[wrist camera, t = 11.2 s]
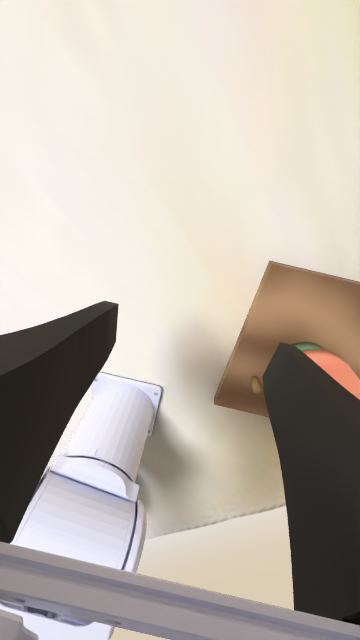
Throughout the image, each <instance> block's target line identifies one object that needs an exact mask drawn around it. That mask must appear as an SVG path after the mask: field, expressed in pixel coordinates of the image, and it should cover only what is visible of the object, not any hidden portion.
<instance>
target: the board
mask: <svg viewBox="0 0 360 640" xmlns="http://www.w3.org/2000/svg"><path fill="white" fill-rule="evenodd" d="M280 342H282V343H286V344H291V345H292V344H295V343H298V342H312V343H316V344H318V345H320V346H322V347H323V348H324V349H325V350H328V351H332V352H334V353H336V354H338V355H339V356H341V357H342V358H343V359H344V360H345V361H346V363H347V364H348V365H349V366H350V368H351V369H352V370H353V372H354V373H355V374H356V375H357V377H358V378H359V379H360V282H358V281H354V280H349V279H345V278H341V277H337V276H332V275H328V274H324V273H320V272H315V271H311V270H307V269H303V268H298V267H294V266H290V265H286V264H281V263H277V262H273V261H269V263H268V266H267V268H266V271H265V273H264V276H263V278H262V281H261V283H260V285H259V288H258V290H257V293H256V295H255V298H254V300H253V303H252V305H251V308H250V310H249V313H248V315H247V318H246V320H245V323H244V325H243V328H242V330H241V332H240V335H239V337H238V340H237V342H236V345H235V347H234V350H233V352H232V355H231V357H230V360H229V362H228V365H227V367H226V370H225V372H224V375H223V377H222V379H221V382H220V384H219V387H218V389H217V392H216V394H215V397H214V404H215V405H219V406H223V407H227V408H232V409H236V410H240V411H245V412H249V413H253V414H257V415H262V416H266V417H269V414H268V410H267V406H266V402H265V397H264V390H263V379H262V376H263V374H264V372H265V370H266V368H267V366H268V364H269V362H270V361H271V359H272V357H273V355H274V353H275V351H276V349H277V347H278V345H279V343H280Z"/></svg>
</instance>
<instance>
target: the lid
mask: <svg viewBox="0 0 360 640" xmlns="http://www.w3.org/2000/svg"><path fill="white" fill-rule="evenodd" d="M302 352H304V353H305V354H306V355H307V356H308V357H310V358H311V359H312V360H313V361H314V362H315V363H316V364H318V365H319V366H320V367H321V368H322V369H323V370H324V371H326V372H327V373H328V374H329V375H330V376H331V377H332V378H334V379H335V380H336V381H337V382H338V383H340V384H341V385H342V386H343V387H344V388H345V389H347V390H348V391H349V392H350V393H352V394H353V395H354V396H355V397H357V398H358V399H359V400H360V379H359V378H358V377H357V375H356V374H355V373H354V372H353V370H352V369H351V368H350V366H349V365H348V364H347V363H346V361H345V360H344V359H343V358H342V357H341V356H339V355H338V354H336V353H334V352H332V351H328V350H323V349H308V350H303V351H302Z"/></svg>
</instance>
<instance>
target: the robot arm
mask: <svg viewBox="0 0 360 640" xmlns="http://www.w3.org/2000/svg"><path fill="white" fill-rule="evenodd" d="M117 316H118V304H116V303H112V302H107V301H103V302H100V303H97V304H94V305H92V306H89V307H87V308H84V309H82V310H79V311H77V312H74V313H72V314H69V315H67V316H64V317H61V318H58V319H55V320H53V321H50V322H47V323H44V324H41V325H38V326H34V327H31V328H27V329H24V330H20V331H16V332H12V333H8V334H4V335H0V640H109V639H110V638H111V636H112V634H113V631H114V628H115V627H119V628H123V629H127V630H132V631H136V632H140V633H145V634H149V635H153V636H157V637H162V638H166V639H171V640H360V400H359V399H358V398H357V397H355V396H354V395H353V394H352V393H350V392H349V391H348V390H347V389H345V388H344V387H343V386H342V385H341V384H340V383H338V382H337V381H336V380H335V379H334V378H332V377H331V376H330V375H329V374H328V373H327V372H326V371H324V370H323V369H322V368H321V367H320V366H319V365H318V364H316V363H315V362H314V361H313V360H312V359H311V358H310V357H308V356H307V355H306V354H305V353H304V352H302V351H301V350H300V349H299V348H297V347H296V346H294V345H291V344H286V343H282V342H280V343H279V345H278V347H277V349H276V351H275V353H274V355H273V357H272V359H271V361H270V362H269V364H268V366H267V368H266V370H265V372H264V374H263V376H262V379H263V390H264V397H265V402H266V406H267V410H268V414H269V418H270V421H271V425H272V429H273V433H274V437H275V441H276V444H277V449H278V453H279V458H280V464H281V470H282V477H283V484H284V491H285V499H286V507H287V515H288V526H289V537H290V548H291V562H292V578H293V594H294V610H291V609H286V608H282V607H278V606H274V605H269V604H264V603H261V602H256V601H252V600H247V599H244V598H239V597H235V596H231V595H227V594H222V593H218V592H214V591H209V590H205V589H200V588H197V587H192V586H188V585H183V584H179V583H175V582H171V581H166V580H162V579H158V578H154V577H149V576H145V575H141V574H137V573H136V571H137V568H138V565H139V562H140V558H141V554H142V550H143V545H144V540H145V534H146V523H147V520H146V513H145V509H144V504H143V502H142V501H141V500H138V499H137V496H138V492H139V488H140V486H139V485H138V484H135V481H136V477H137V473H138V469H139V465H140V461H141V458H142V454H143V450H144V446H145V442H146V438H150V437H151V435H152V430H153V426H154V422H155V417H156V413H157V409H158V404H159V400H160V395H161V391H162V388H161V387H160V386H156V385H152V384H148V383H144V382H139V381H135V380H131V379H127V378H122V377H118V376H114V375H110V374H105V373H101V372H100V370H101V369H102V367H103V366H104V364H105V362H106V361H107V359H108V357H109V355H110V353H111V351H112V349H113V346H114V344H115V342H116V330H117ZM91 384H92V401H91V403H90V405H89V406H88V408H87V410H86V412H85V414H84V415H83V417H82V419H81V421H80V422H79V424H78V426H77V428H76V430H75V431H74V433H73V435H72V437H71V438H70V440H69V442H68V444H67V446H66V447H65V449H64V451H63V453H62V454H61V455H58V457H57V459H56V460H55V462H54V464H53V466H52V467H51V469H50V467H49V466H48V465H47V464H48V462H49V460H50V458H51V456H52V454H53V452H54V450H55V448H56V446H57V444H58V442H59V440H60V438H61V436H62V434H63V432H64V430H65V428H66V426H67V424H68V422H69V420H70V418H71V416H72V415H73V413H74V411H75V409H76V407H77V406H78V404H79V402H80V401H81V399H82V398H83V396H84V395H85V393H86V392H87V390H88V389H89V387H90V386H91ZM49 469H50V471H49Z"/></svg>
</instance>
